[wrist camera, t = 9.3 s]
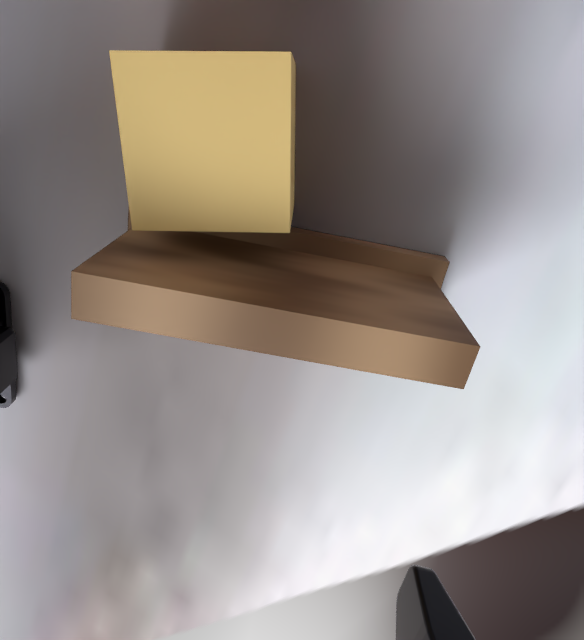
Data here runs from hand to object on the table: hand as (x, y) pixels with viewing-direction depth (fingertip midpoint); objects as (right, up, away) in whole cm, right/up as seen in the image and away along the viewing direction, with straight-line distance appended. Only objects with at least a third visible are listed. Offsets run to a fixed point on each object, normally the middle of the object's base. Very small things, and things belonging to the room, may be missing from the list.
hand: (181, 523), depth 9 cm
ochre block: (0, +11, +9) cm, 15 cm away
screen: (+2, +6, +11) cm, 13 cm away
